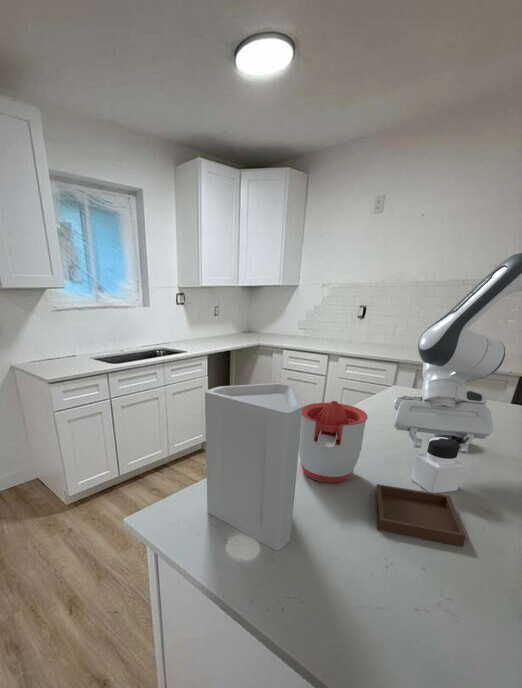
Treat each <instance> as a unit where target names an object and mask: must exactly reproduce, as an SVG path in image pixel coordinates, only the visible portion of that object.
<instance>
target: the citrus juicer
mask: <svg viewBox="0 0 522 688" xmlns="http://www.w3.org/2000/svg"><path fill="white" fill-rule="evenodd" d="M368 418H369V417H368V414H367V413H366V412H365V411H364V410H362V409H360V408H359V407H356V406H352V405H348V404H344V403H339V402H338V401H337V400H332V401H331V402H315V403H310V404H307V405H303V408H302V419H301V430H300V441H299V452H298V457H299V462H300V466H301V469H302V471H303V473H304V474H305V475H306V476H307V477H308V476H309V477H308V478H310V479H312V480H315V481H318V482H321V483H329V484H330V483H333V484H334V483H341V482H345V481H346V480H347V479H349V477H351V475H352V473H353V472H354V469H355V467H356V466H357V463H358V460H359V458H360V454H361V451H362V446H363V439H364V434H365V428H366V421H367V420H368Z"/></svg>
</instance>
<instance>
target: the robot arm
mask: <svg viewBox="0 0 522 688" xmlns="http://www.w3.org/2000/svg"><path fill="white" fill-rule="evenodd" d="M518 292H522V252H520V253H519V252H518V253H516V254H513V255H511V256H509V257H508V258H505V260H503V261H502V262H501V263H500V264H498V265H497V266H496V267H495V268H494V269H492V270H491V271H490V272H489V273H488V274H487V275H486V276H485V277H484V278H483V279H482V280H481V281H480V282H478V284H477V285H476V286H474V287H473V288H472V290H470V291H469V292H468V293H467V294H465V296H464V297H463V298H462V299H461V300H460V301H459V302H457V304H456V305H455V306H453V307H452V308H451V309H450V310H449V311H448V312H446V313H445V315H443V316H442V317H441V318H439V319H438V320H437V321H435V322H434V323H433V324H432V325H430V326H429V327H428V328H426V329H425V330H424V332H423V333H422V334H421V335H420V337H419V339H418V343H417V350H418V354H419V358H420V359H421V360H422V362H423V363H422V374H421V376H422V379H423V383H422V385H421V393H420V396H408V395H402V396H400V397H397V398H396V399H394V409H395V411H396V412H395V415H394V420H393V427H394V428H395V430H397V431H404V432H408V436H409V438H410V439H411V440H412V448H417V449H421V448H422V446H423V445H422V442H423V439H421V438H418V435H417V433H424V434H432V435H435V434H441V435H450V436H459V437H464V441H466V443H464V444H459V445H460V448H459V451H458V454H463V455H465V454H467V453H468V451H469V445H470V444H471V443H472V441H473V440H474V439H478V440H485V439H486V438H488V437H489V436H490V435H492V433H493V431H494V423H493V416H492V412H491V409H490V407H489V406H487V405H486V404H487V402H488V397H487V395H486V394H483V393H480V392H478V391H473V390H471V389H468V388H466V387H464V384H465V383H466V382H468V383H469V382H474V381H477V380H481V379H483V378H486V377H488V376H491V375H493V374H494V373H496V371H498V370H499V369H500V368H501V366H502V364H503V363H504V361H505V357H506V347H505V345H504V343H503V342H501V341H499V340H498V339H495V338H494V337H491V336H488V335H486V334H484V333H480V332H477V331H475V330H472V329H470V327H471V326H472V325H473V324H475V323H476V322H477V321H478V320H479V319H480V318H481V317H482V316H483V315H485V314H486V313H487V312H488V311H489V310H490V309H492V308H493V307H494V306H495V305H496V304H497V303H498V302H500V300H503V299H504V298H505V297H507V296H509V295H511V294H513V293H514V294H515V293H518Z"/></svg>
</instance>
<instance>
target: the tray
mask: <svg viewBox="0 0 522 688" xmlns="http://www.w3.org/2000/svg"><path fill="white" fill-rule="evenodd" d="M374 498H375V499H374V500H375V511H376V512H375V513H376V523H377V525H376V526H377V531H380V532H384V533H385V532H386V533H388V534H389V533H390V534H395V535H400V536H405V537H408V538H409V537H410V538H414V539H420V540H424V541H430V542H434V543H441V544H445V545H450V546H456V547H459V548H460V547H461V548H464V545H465V542H466V540H467V534H466V532H465V529H464V527H463V524H462V522H461V520H460V517H459V514H458V512H457V510H456V508H455V505H454V503H453V500H452V498H451V496H450V495H448V494H442V493H430V492H428V491H423V490H417V489H410V488H403V487H398V486H391V485H384V484H378V483H376V486H375V492H374Z"/></svg>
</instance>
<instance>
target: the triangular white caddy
mask: <svg viewBox="0 0 522 688" xmlns="http://www.w3.org/2000/svg"><path fill="white" fill-rule="evenodd" d="M303 407H304V405H303V403H302V401H301V399H300V397H299V394H298V392H297V390H296V388H295V386H294V385H293V384H290V383H285V382H274V383H273V382H272V383H255V384H239V385H237V384H236V385H221V386H216V387H212V388H209V389H206V390H204V415H205V419H204V421H205V452H206V453H205V461H206V462H205V465H206V469H205V470H206V509H207V513H208V514H210V516H211V515H212V517H215V518H217V519H218V520H220V521H222V522H223V523H226V524H227V525H229V526H231V527H232V528H235V529H236V530H238V531H240V532H242V533H243V534H245V535H247V536H249V537H250V538H253V539H254V540H256V541H258V542H260V543H261V544H263V545H265V546H267V547H269V548H271V549H272V550H274V551H280V550H282V549H283V548H284V547H285V546H286V545H287V544H289V543H290V541H291V537H292V528H293V527H292V526H293V517H294V516H293V515H294V506H295V496H296V495H295V493H296V484H297V483H296V482H297V471H298V461H299V441H300V430H301V419H302V408H303Z"/></svg>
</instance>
